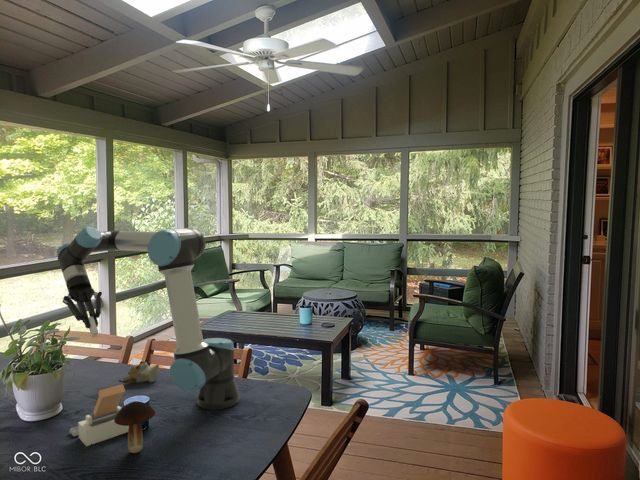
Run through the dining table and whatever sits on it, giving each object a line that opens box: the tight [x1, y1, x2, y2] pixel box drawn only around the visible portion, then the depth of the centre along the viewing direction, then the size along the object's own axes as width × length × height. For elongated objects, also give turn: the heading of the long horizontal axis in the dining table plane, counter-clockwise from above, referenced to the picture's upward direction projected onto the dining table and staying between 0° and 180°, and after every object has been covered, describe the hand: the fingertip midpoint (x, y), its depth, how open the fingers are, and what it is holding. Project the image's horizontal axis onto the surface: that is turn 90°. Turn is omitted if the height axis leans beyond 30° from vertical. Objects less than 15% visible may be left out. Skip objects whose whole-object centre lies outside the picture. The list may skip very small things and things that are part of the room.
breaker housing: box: [68, 405, 129, 447], centre depth 145 cm, size 12×15×7 cm
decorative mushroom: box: [114, 400, 156, 454], centre depth 133 cm, size 11×11×15 cm
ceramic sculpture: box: [118, 361, 160, 384], centre depth 187 cm, size 11×9×15 cm
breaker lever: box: [90, 383, 127, 420], centre depth 140 cm, size 3×7×14 cm
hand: (95, 334), depth 156 cm, fingers closed
